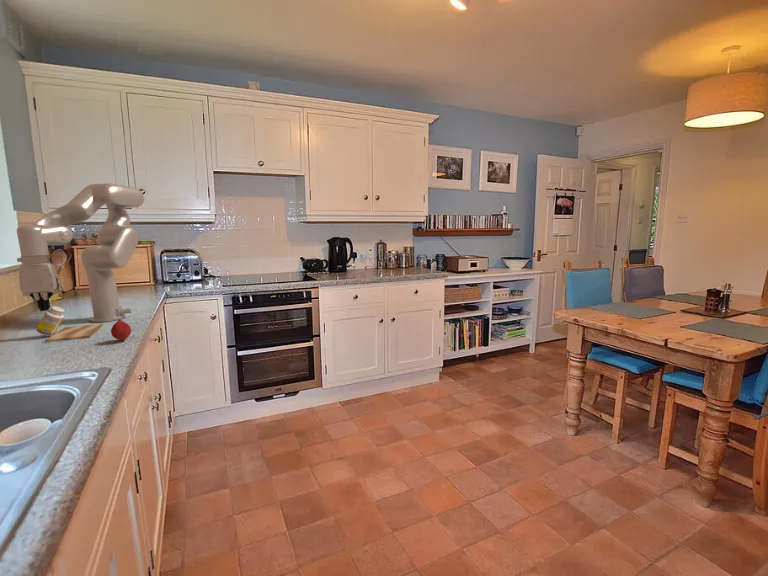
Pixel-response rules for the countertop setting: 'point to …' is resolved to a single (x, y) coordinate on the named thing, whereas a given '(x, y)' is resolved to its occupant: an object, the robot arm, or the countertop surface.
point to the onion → (120, 330)
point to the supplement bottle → (50, 321)
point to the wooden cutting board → (75, 332)
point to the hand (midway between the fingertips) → (44, 310)
